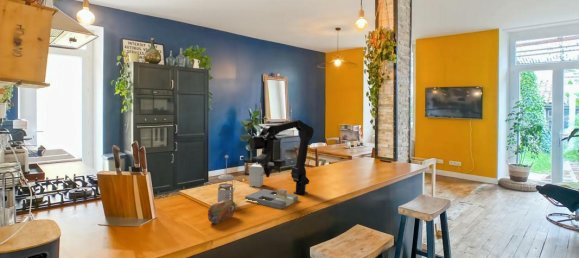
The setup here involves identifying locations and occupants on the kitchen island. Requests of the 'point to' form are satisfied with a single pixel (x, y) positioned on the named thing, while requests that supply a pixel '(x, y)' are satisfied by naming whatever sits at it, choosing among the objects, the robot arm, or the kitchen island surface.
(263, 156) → the robot arm
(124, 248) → the kitchen island surface
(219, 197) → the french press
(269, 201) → the board
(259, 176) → the supplement box
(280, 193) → the maple block
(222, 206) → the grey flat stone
